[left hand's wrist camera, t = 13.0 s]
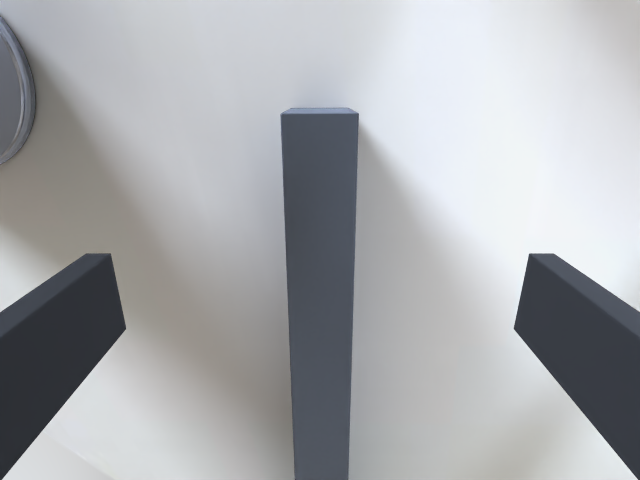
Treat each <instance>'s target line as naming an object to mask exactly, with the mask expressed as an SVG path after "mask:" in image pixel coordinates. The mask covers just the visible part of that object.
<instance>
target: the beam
mask: <svg viewBox="0 0 640 480" xmlns="http://www.w3.org/2000/svg"><path fill="white" fill-rule="evenodd" d="M358 120H359V114H358V113H357V112H355V111H353V110H351V109H349V108H291V109H289V110H287V111H285V112H283V113H281V135H282V161H283V186H284V212H285V238H286V263H287V289H288V314H289V340H290V365H291V391H292V417H293V442H294V468H295V480H348V468H349V433H350V398H351V364H352V329H353V294H354V259H355V224H356V190H357V155H358Z"/></svg>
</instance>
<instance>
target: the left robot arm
mask: <svg viewBox="0 0 640 480" xmlns="http://www.w3.org/2000/svg"><path fill="white" fill-rule="evenodd" d="M35 104H36V98H35V87H34V82H33V77H32V73H31V69H30V66H29V64H28V61H27V58H26V56H25V54H24V51H23V49H22V47H21V45H20V44H19V42H18V40H17V38H16V36H15V35H14V33H13V32H12V30H11V29H10V27H9V26H8V25H7V23H6V22H5V21H4V19H3V18H2V17H1V16H0V164H2V163H4V162H5V161H7V160H8V159H10V158H11V157H12V156H13V155H15V154H16V153H17V152H18V151H19V149H20V148H21V147H22V146H23V144H24V143H25V141H26V139H27V137H28V135H29V133H30V131H31V128H32V125H33V121H34V116H35ZM125 330H126V325H125V321H124V316H123V311H122V306H121V301H120V296H119V292H118V287H117V282H116V277H115V272H114V267H113V262H112V258H111V254H85V255H83V256H82V257H81V258H79V259H78V260H76V261H75V262H73V263H72V264H70V265H69V266H67V267H66V268H64V269H63V270H62V271H60V272H59V273H57V274H56V275H54V276H53V277H51V278H50V279H48V280H47V281H45V282H44V283H43V284H41V285H40V286H38V287H37V288H35V289H34V290H32V291H31V292H29V293H28V294H26V295H25V296H24V297H22V298H21V299H19V300H18V301H16V302H15V303H13V304H12V305H10V306H9V307H7V308H6V309H4V310H3V311H2V312H0V480H2V479H3V477H4V476H5V475H6V474H7V473H8V471H9V470H10V469H11V468H12V467H13V465H14V464H15V463H16V462H17V460H18V459H19V458H20V457H21V456H22V454H23V453H24V452H25V451H26V450H27V448H28V447H29V446H30V445H31V444H32V442H33V441H34V440H35V439H36V438H37V436H38V435H39V434H40V433H41V431H42V430H43V429H44V428H45V427H46V425H47V424H48V423H49V422H50V421H51V419H52V418H53V417H54V416H55V414H56V413H57V412H58V411H59V410H60V408H61V407H62V406H63V405H64V404H65V402H66V401H67V400H68V399H69V398H70V396H71V395H72V394H73V393H74V391H75V390H76V389H77V388H78V387H79V385H80V384H81V383H82V382H83V381H84V379H85V378H86V377H87V376H88V374H89V373H90V372H91V371H92V370H93V368H94V367H95V366H96V365H97V364H98V362H99V361H100V360H101V359H102V358H103V356H104V355H105V354H106V353H107V351H108V350H109V349H110V348H111V347H112V345H113V344H114V343H115V342H116V341H117V339H118V338H119V337H120V336H121V334H122V333H123V332H124V331H125ZM514 330H515V331H516V332H517V333H518V334H519V336H520V337H521V338H522V339H523V341H524V342H525V343H526V344H527V345H528V347H529V348H530V349H531V350H532V351H533V353H534V354H535V355H536V356H537V358H538V359H539V360H540V361H541V362H542V364H543V365H544V366H545V367H546V368H547V370H548V371H549V372H550V373H551V374H552V376H553V377H554V378H555V379H556V381H557V382H558V383H559V384H560V385H561V387H562V388H563V389H564V390H565V391H566V393H567V394H568V395H569V396H570V398H571V399H572V400H573V401H574V402H575V404H576V405H577V406H578V407H579V408H580V410H581V411H582V412H583V413H584V414H585V416H586V417H587V418H588V419H589V421H590V422H591V423H592V424H593V425H594V427H595V428H596V429H597V430H598V431H599V433H600V434H601V435H602V436H603V438H604V439H605V440H606V441H607V442H608V444H609V445H610V446H611V447H612V448H613V450H614V451H615V452H616V453H617V454H618V456H619V457H620V458H621V459H622V461H623V462H624V463H625V464H626V465H627V467H628V468H629V469H630V470H631V471H632V473H633V474H634V475H635V476H636V478H637V479H638V480H640V312H638V311H637V310H636V309H634V308H633V307H631V306H630V305H628V304H627V303H625V302H624V301H622V300H621V299H619V298H618V297H616V296H615V295H614V294H612V293H611V292H609V291H608V290H606V289H605V288H603V287H602V286H600V285H599V284H597V283H596V282H595V281H593V280H592V279H590V278H589V277H587V276H586V275H584V274H583V273H581V272H580V271H578V270H577V269H576V268H574V267H573V266H571V265H570V264H568V263H567V262H565V261H564V260H562V259H561V258H559V257H558V256H557V255H555V254H529V258H528V262H527V267H526V272H525V277H524V282H523V287H522V292H521V296H520V301H519V306H518V311H517V316H516V321H515V325H514Z"/></svg>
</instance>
